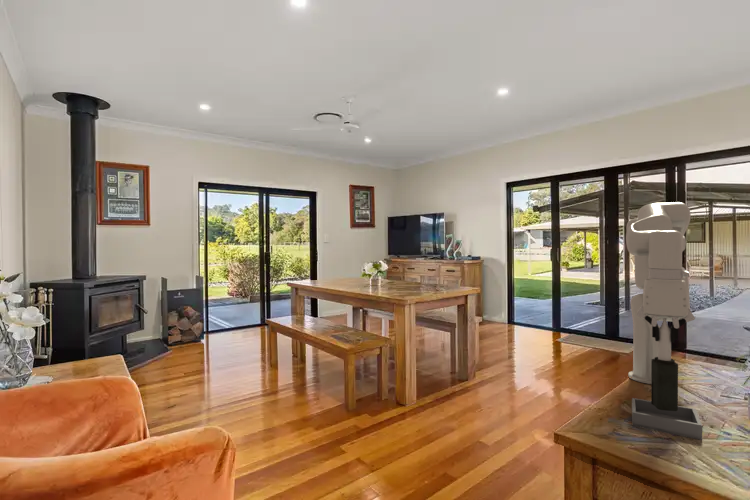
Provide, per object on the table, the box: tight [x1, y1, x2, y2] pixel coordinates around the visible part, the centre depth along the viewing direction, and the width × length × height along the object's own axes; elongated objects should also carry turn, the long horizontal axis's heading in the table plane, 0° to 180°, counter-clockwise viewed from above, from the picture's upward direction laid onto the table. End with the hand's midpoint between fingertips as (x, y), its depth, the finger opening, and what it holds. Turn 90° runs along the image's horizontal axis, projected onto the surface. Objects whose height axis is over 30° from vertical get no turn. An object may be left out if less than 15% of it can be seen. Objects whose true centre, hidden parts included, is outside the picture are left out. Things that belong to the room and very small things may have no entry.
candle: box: [650, 318, 679, 411], centre depth 110 cm, size 5×5×25 cm
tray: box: [631, 397, 703, 441], centre depth 110 cm, size 12×15×4 cm
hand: (664, 340), depth 110 cm, fingers closed on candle, 3 cm apart
